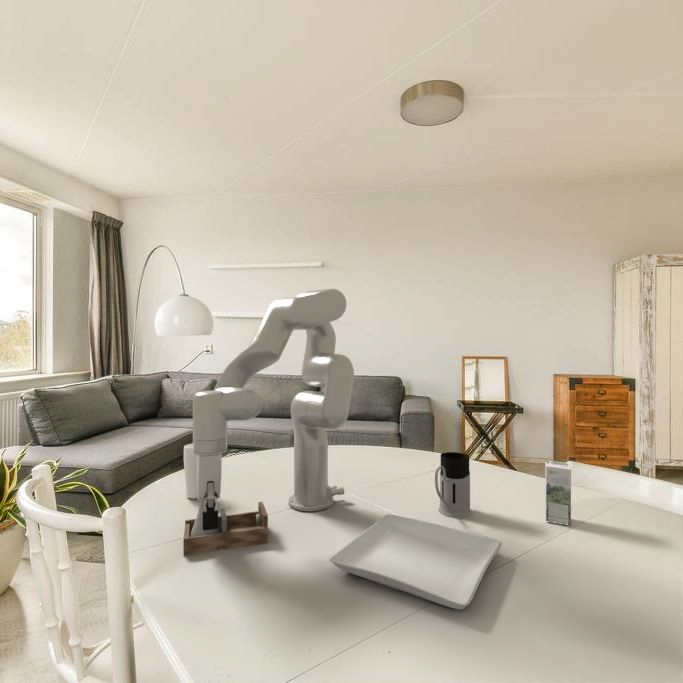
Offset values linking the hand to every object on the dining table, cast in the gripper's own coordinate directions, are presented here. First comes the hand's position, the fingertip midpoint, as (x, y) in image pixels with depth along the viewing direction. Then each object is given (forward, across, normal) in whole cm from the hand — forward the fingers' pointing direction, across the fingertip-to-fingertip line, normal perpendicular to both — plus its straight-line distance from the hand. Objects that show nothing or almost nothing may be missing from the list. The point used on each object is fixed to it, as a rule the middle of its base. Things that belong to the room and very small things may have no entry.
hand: (210, 520), depth 97 cm
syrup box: (+5, +16, +84) cm, 86 cm away
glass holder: (+5, +4, +60) cm, 61 cm away
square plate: (+5, +24, +40) cm, 47 cm away
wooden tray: (+5, 0, +4) cm, 6 cm away
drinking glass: (+5, -31, -4) cm, 32 cm away
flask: (+4, 0, -1) cm, 4 cm away
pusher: (+3, 0, +3) cm, 5 cm away
